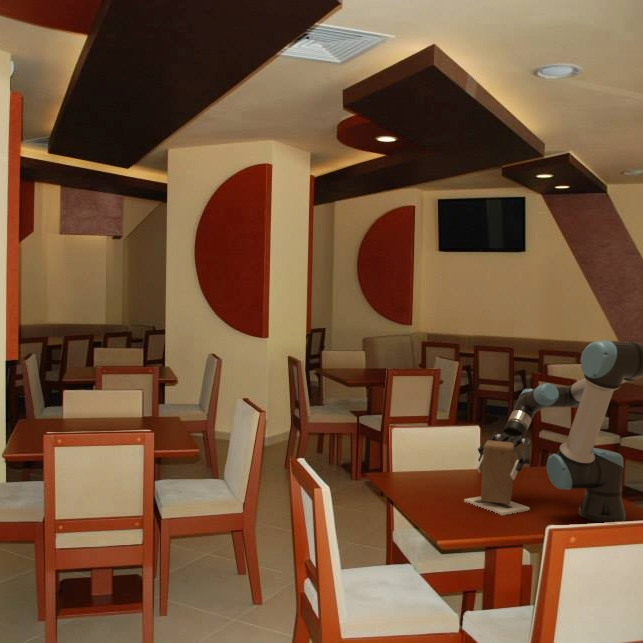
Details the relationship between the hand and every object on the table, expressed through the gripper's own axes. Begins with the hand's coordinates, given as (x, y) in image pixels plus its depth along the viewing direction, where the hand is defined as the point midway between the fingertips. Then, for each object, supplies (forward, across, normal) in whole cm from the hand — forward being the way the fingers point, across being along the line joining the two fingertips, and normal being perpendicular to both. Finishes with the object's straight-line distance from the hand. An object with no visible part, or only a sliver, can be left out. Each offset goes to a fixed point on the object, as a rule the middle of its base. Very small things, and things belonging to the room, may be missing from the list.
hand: (495, 473), depth 273 cm
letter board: (+7, 0, -10) cm, 12 cm away
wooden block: (+5, 0, -8) cm, 10 cm away
